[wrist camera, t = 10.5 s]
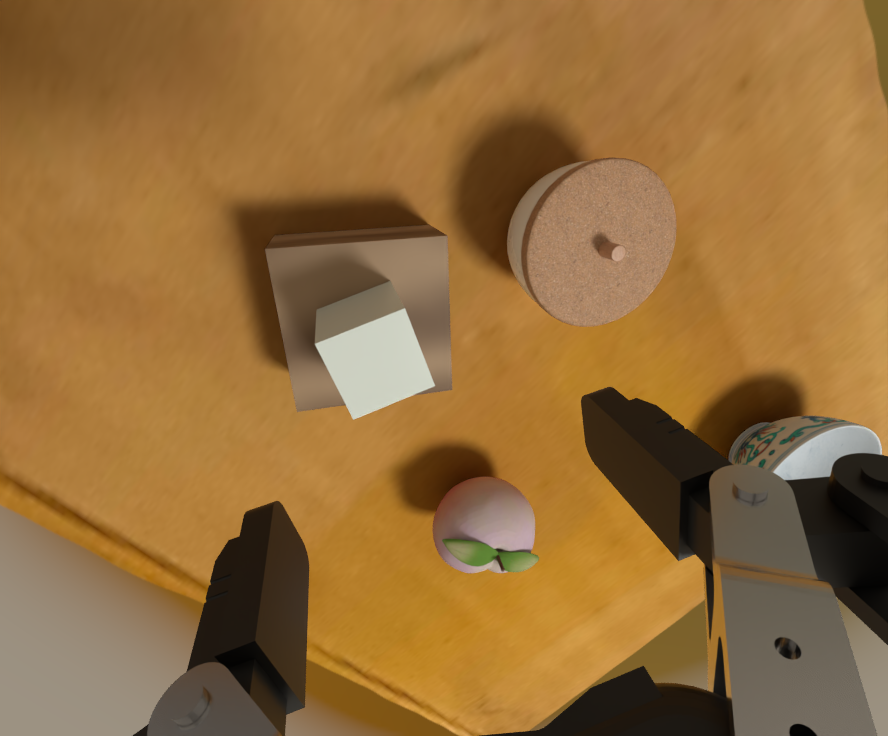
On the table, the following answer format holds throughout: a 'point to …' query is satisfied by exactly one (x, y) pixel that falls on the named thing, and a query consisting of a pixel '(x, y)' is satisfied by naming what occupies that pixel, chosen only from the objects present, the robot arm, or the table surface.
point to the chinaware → (802, 445)
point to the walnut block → (348, 273)
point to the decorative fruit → (485, 527)
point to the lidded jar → (592, 239)
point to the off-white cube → (371, 350)
